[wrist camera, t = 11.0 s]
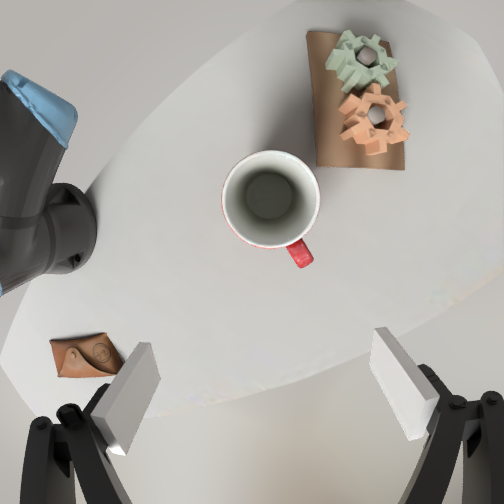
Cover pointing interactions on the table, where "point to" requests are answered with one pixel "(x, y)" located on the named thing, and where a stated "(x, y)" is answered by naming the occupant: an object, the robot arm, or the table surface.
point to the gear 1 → (353, 70)
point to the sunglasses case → (86, 357)
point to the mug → (272, 202)
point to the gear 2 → (362, 126)
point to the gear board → (332, 120)
